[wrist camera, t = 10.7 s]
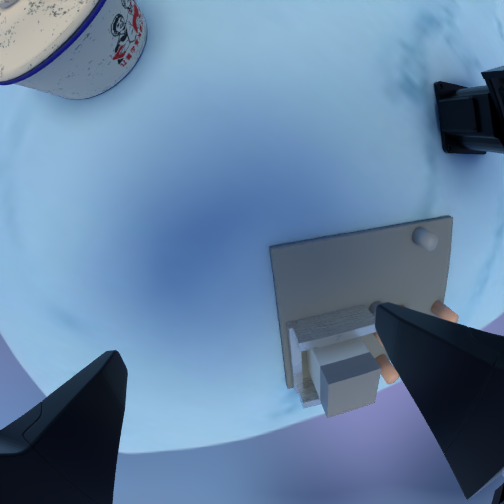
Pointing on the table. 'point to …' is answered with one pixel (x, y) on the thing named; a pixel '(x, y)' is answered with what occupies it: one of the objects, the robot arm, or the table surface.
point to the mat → (359, 275)
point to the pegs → (438, 308)
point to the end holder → (323, 341)
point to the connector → (344, 375)
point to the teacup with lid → (69, 44)
